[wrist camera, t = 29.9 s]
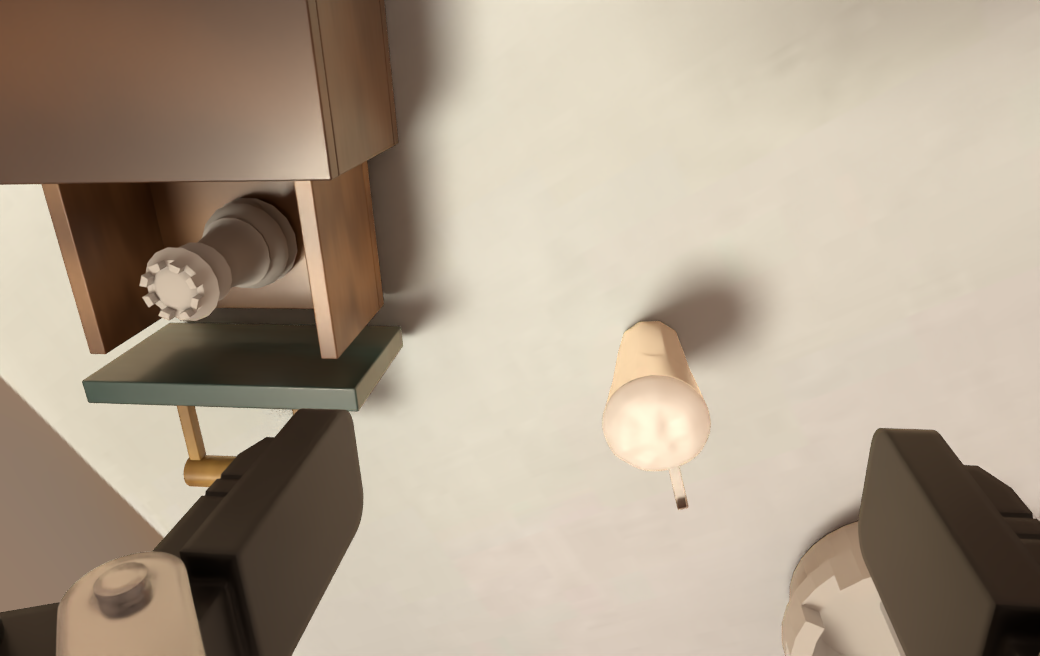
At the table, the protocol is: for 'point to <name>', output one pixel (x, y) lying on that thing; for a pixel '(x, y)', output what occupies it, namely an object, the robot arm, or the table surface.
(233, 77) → the cabinet
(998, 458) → the table surface
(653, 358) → the milkshake
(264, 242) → the rook chess piece
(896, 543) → the robot arm
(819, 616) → the flag stand
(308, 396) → the drawer
